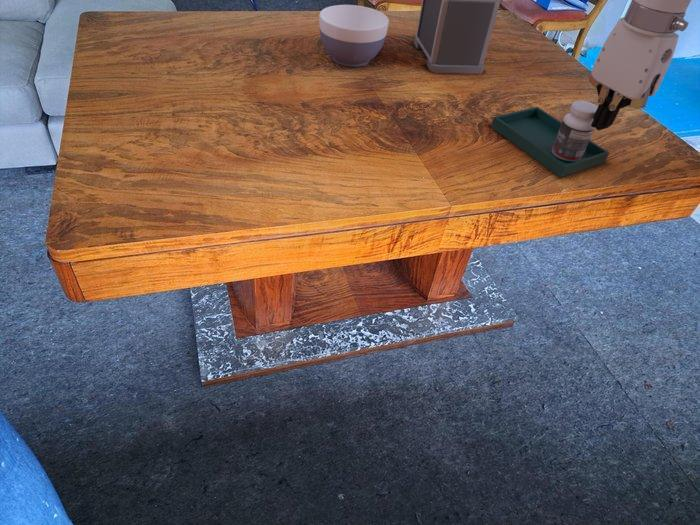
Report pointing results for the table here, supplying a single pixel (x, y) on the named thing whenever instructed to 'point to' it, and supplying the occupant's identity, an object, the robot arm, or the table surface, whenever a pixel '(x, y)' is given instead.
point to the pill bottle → (575, 132)
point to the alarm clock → (456, 34)
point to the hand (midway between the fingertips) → (599, 126)
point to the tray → (544, 140)
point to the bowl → (352, 33)
